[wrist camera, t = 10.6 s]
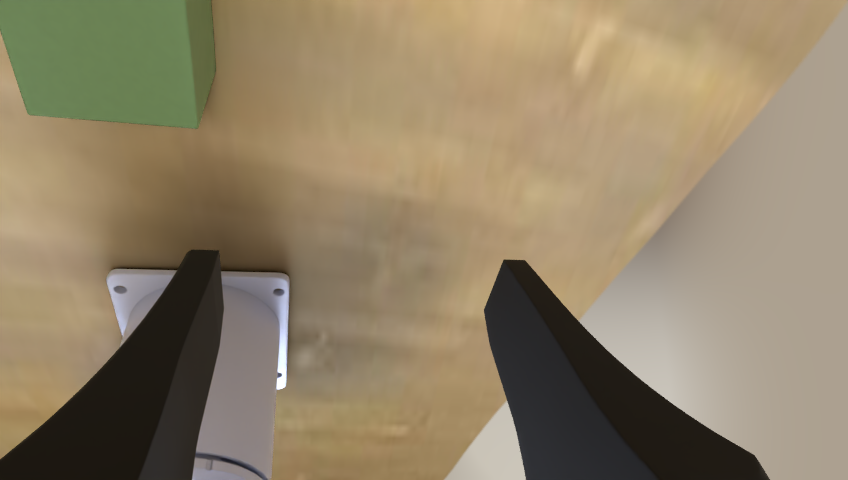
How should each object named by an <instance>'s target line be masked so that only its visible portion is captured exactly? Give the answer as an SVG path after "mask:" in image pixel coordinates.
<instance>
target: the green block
mask: <svg viewBox="0 0 848 480" xmlns="http://www.w3.org/2000/svg"><path fill="white" fill-rule="evenodd" d="M0 31H1V34H2V37H3V40H4V43H5V46H6V49H7V52H8V55H9V58H10V62H11V65H12V68H13V71H14V74H15V77H16V80H17V83H18V86H19V89H20V92H21V95H22V98H23V101H24V104H25V107H26V110H27V113H28V114H29V115H35V116H48V117H60V118H72V119H84V120H96V121H108V122H121V123H133V124H145V125H157V126H169V127H181V128H194V129H197V128H198V127H199V124H200V121H201V118H202V114H203V111H204V108H205V105H206V101H207V98H208V95H209V91H210V88H211V85H212V82H213V78H214V75H215V72H216V63H215V49H214V35H213V20H212V6H211V0H0Z"/></svg>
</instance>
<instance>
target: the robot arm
mask: <svg viewBox="0 0 848 480" xmlns="http://www.w3.org/2000/svg"><path fill="white" fill-rule="evenodd" d="M106 282H107V285H108V289H109V292H110V296H111V299H112V303H113V306H114V310H115V313H116V317H117V320H118V324H119V327H120V331H121V334H122V341H121V344H120V347H119V349H118V350H117V351H116V353H115V354H114V355H113V356H112V357H111V358H110V359H109V360H108V361H107V363H106V364H105V365H104V366H103V367H102V368H101V369H100V370H99V371H98V372H97V373H96V374H95V375H94V376H93V377H92V378H91V379H90V380H89V381H88V382H87V383H86V384H85V385H84V386H83V387H82V388H81V389H80V390H79V391H78V392H77V393H76V394H75V395H74V396H73V397H72V398H71V399H70V400H69V401H68V402H67V403H66V404H65V405H64V406H63V407H61V408H60V409H59V410H58V411H57V412H56V413H55V414H54V415H53V416H52V417H50V418H49V419H48V420H47V421H46V422H45V423H44V424H43V425H41V426H40V427H39V428H38V429H37V430H35V431H34V432H33V433H32V434H31V435H29V436H28V437H27V438H26V439H24V440H23V441H22V442H21V443H20V444H18V445H17V446H16V447H15V448H14V449H12V450H11V451H10V452H9V453H8V454H6V455H5V456H4V457H3V458H1V459H0V480H271V475H272V458H273V441H274V424H275V408H276V391H277V389H281V388H284V387H285V386H286V378H287V348H288V318H289V288H290V279H289V277H288V276H287V275H286V274H284V273H273V272H231V271H221V266H220V254H219V250H191V251H189V252H188V253H187V254H186V256H185V258H184V259H183V261H182V263H181V265H180V266H179V268H178V270H146V269H113V270H111V271H110V272H109V273H108V275H107V278H106ZM120 286H123V287H120ZM278 288H279V289H282V290H277V289H278ZM484 313H485V320H486V326H487V332H488V337H489V342H490V346H491V350H492V353H493V357H494V360H495V363H496V366H497V370H498V373H499V376H500V379H501V382H502V385H503V388H504V392H505V395H506V398H507V401H508V404H509V407H510V411H511V414H512V417H513V420H514V424H515V427H516V431H517V436H518V441H519V446H520V451H521V455H522V460H523V465H524V470H525V476H526V480H770V479H769V478H768V476H767V474H766V473H765V471H764V469H763V468H762V466H761V465H760V463H759V462H758V460H757V458H756V457H755V455H753V454H751V453H750V452H748V451H746V450H744V449H743V448H741V447H739V446H738V445H736V444H734V443H732V442H731V441H729V440H727V439H726V438H724V437H722V436H720V435H719V434H717V433H715V432H714V431H712V430H711V429H709V428H707V427H706V426H704V425H703V424H701V423H699V422H698V421H697V420H695V419H694V418H692V417H691V416H689V415H688V414H686V413H685V412H683V411H682V410H680V409H679V408H677V407H676V406H674V405H673V404H672V403H670V402H669V401H668V400H666V399H665V398H664V397H662V396H661V395H660V394H658V393H657V392H656V391H654V390H653V389H652V388H650V387H649V386H648V385H647V384H645V383H644V382H643V381H641V380H640V379H639V378H638V377H637V376H635V375H634V374H633V373H632V372H631V371H630V370H629V369H627V368H626V367H625V366H624V365H623V364H622V363H621V362H619V361H618V360H617V359H616V358H615V357H614V356H613V355H612V354H611V353H609V352H608V351H607V350H606V349H605V348H604V347H603V346H602V345H601V344H600V343H599V342H598V341H597V340H596V339H595V338H594V337H593V336H592V335H591V334H590V333H589V332H588V331H587V330H586V329H585V328H584V327H583V326H582V325H581V324H580V322H579V321H578V320H577V319H576V318H575V317H574V316H573V315H572V314H571V313H570V312H569V310H568V309H567V308H566V307H565V306H564V305H563V304H562V303H561V301H560V300H559V299H558V298H557V297H556V296H555V295H554V293H553V292H552V291H551V290H550V289H549V288H548V286H547V285H546V284H545V283H544V282H543V281H542V279H541V278H540V277H539V276H538V275H537V274H536V272H535V271H534V270H533V269H532V268H531V267H530V266H529V264H528V263H527V262H526V261H525V260H503V263H502V265H501V268H500V271H499V273H498V276H497V278H496V281H495V283H494V286H493V288H492V291H491V293H490V296H489V299H488V301H487V304H486V306H485V309H484Z"/></svg>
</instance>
